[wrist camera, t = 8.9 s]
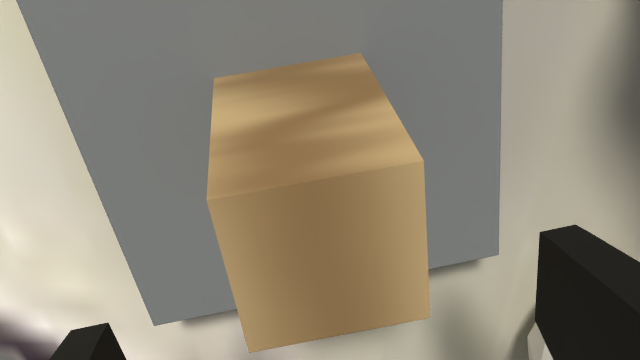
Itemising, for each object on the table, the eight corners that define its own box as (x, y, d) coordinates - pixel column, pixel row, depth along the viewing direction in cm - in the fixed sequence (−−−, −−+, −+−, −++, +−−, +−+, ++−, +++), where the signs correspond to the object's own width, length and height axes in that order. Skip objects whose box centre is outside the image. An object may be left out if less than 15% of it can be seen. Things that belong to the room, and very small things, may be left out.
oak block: (360, 53, 16) (423, 160, 11) (373, 178, 18) (429, 317, 13) (213, 78, 16) (206, 200, 10) (243, 201, 18) (248, 352, 13)
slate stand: (468, -140, 16) (504, -135, 14) (472, 214, 22) (498, 254, 20) (29, -60, 16) (-2, -42, 13) (161, 277, 22) (154, 325, 20)
